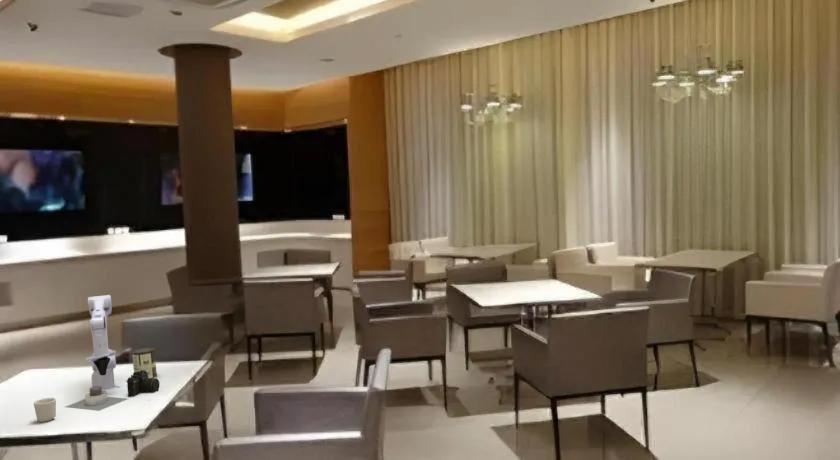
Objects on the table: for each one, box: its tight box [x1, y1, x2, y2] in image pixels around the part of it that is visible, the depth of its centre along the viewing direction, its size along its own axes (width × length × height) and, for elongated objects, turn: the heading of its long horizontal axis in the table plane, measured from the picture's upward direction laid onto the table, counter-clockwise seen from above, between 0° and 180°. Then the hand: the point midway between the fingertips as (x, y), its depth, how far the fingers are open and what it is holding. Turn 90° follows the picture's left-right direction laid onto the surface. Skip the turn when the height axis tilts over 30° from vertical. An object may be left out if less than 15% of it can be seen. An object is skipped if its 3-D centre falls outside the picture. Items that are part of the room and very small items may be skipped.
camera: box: [126, 370, 160, 398], centre depth 316 cm, size 14×11×10 cm
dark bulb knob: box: [89, 386, 103, 395], centre depth 304 cm, size 5×5×6 cm
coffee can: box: [131, 347, 158, 379], centre depth 342 cm, size 10×10×14 cm
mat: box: [64, 396, 128, 412], centre depth 304 cm, size 20×16×1 cm
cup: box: [33, 397, 57, 423], centre depth 289 cm, size 11×8×8 cm
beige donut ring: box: [84, 390, 108, 406], centre depth 304 cm, size 8×8×4 cm
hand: (103, 374), depth 313 cm, fingers closed
